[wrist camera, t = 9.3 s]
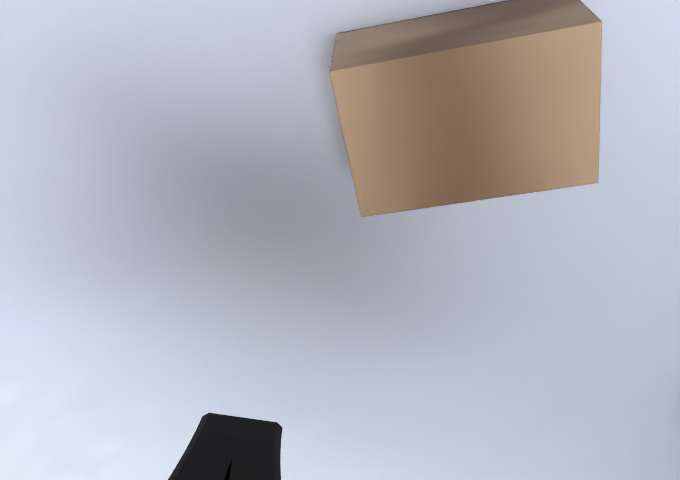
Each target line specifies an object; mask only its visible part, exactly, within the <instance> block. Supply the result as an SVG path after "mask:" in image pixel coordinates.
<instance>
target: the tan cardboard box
mask: <svg viewBox="0 0 680 480" xmlns="http://www.w3.org/2000/svg"><path fill="white" fill-rule="evenodd" d="M601 46H602V21H601V20H600V19H599V18H598V17H597V16H596V15H595V14H594V13H593V12H592V11H591V10H590V9H588V8H587V7H586V6H585V5H584V4H583V3H582V2H581V1H580V0H509V1H503V2H498V3H493V4H488V5H483V6H478V7H472V8H467V9H462V10H457V11H452V12H446V13H441V14H436V15H431V16H426V17H421V18H415V19H410V20H405V21H400V22H395V23H390V24H384V25H379V26H374V27H369V28H364V29H359V30H353V31H348V32H343V33H338V34H337V37H336V42H335V47H334V51H333V56H332V61H331V66H330V71H329V72H330V77H331V81H332V86H333V91H334V95H335V100H336V104H337V109H338V113H339V118H340V122H341V127H342V131H343V136H344V141H345V145H346V150H347V154H348V159H349V163H350V168H351V172H352V177H353V181H354V186H355V191H356V195H357V200H358V204H359V209H360V213H361V217H366V216H373V215H380V214H387V213H393V212H400V211H407V210H414V209H421V208H428V207H435V206H442V205H449V204H456V203H463V202H469V201H476V200H483V199H490V198H497V197H504V196H511V195H518V194H525V193H532V192H539V191H545V190H552V189H559V188H566V187H573V186H580V185H587V184H594V183H598V176H599V133H600V89H601Z"/></svg>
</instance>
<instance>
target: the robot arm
mask: <svg viewBox="0 0 680 480" xmlns="http://www.w3.org/2000/svg"><path fill="white" fill-rule="evenodd" d="M281 434H282V427H281V426H280V425H279V424H278V423H277V422H270V421H263V420H256V419H249V418H242V417H235V416H228V415H221V414H213V413H208V414H206V415H204V416H202V419H201V421H200V423H199V425H198V427H197V430H196V432H195V434H194V435H193V437H192V439H191V441H190V443H189V445H188V447H187V449H186V450H185V452H184V454H183V456H182V457H181V459H180V461H179V463H178V464H177V466H176V468H175V469H174V471H173V472H172V474H171V476H170V477H169V479H168V480H281V471H280V449H281Z"/></svg>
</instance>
